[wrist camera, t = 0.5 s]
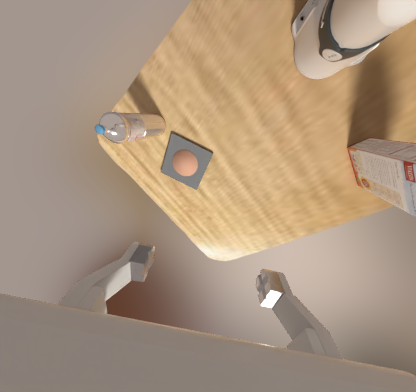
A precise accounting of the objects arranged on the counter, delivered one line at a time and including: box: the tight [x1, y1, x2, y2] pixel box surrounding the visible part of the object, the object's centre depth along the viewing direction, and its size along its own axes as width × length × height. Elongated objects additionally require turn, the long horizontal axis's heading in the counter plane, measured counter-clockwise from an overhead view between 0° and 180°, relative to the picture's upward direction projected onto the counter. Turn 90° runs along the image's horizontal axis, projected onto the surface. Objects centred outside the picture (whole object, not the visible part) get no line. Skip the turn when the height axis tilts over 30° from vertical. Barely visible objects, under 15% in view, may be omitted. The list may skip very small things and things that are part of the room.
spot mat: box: [161, 133, 213, 190], centre depth 57 cm, size 16×16×1 cm
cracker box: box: [348, 138, 416, 217], centre depth 36 cm, size 14×6×21 cm, turn 32°
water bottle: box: [95, 112, 166, 144], centre depth 42 cm, size 7×7×25 cm
